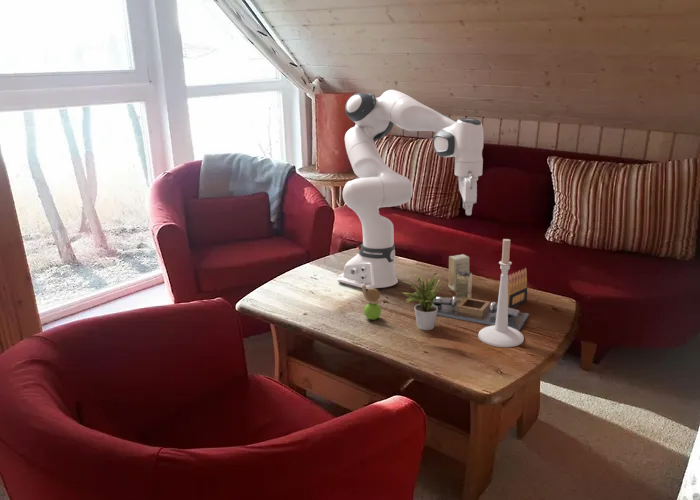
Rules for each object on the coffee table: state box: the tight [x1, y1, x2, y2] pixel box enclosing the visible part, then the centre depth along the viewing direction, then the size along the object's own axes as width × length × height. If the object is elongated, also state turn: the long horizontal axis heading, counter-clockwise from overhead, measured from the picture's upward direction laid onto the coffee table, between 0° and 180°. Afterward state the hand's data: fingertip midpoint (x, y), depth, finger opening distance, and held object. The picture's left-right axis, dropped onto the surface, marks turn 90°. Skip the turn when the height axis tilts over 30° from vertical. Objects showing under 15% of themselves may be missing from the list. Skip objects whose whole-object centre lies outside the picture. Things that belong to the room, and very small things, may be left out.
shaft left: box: [433, 295, 457, 309], centre depth 187 cm, size 9×4×4 cm, turn 73°
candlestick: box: [477, 238, 525, 348], centre depth 164 cm, size 13×13×30 cm
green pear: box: [361, 281, 382, 321], centre depth 181 cm, size 5×6×12 cm
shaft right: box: [489, 301, 521, 322], centre depth 179 cm, size 9×4×4 cm, turn 49°
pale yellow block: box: [455, 271, 473, 302], centre depth 196 cm, size 4×4×10 cm
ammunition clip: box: [508, 267, 528, 309], centre depth 190 cm, size 11×2×12 cm, turn 133°
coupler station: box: [436, 297, 529, 331], centre depth 185 cm, size 32×12×4 cm, turn 61°
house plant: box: [399, 273, 447, 331], centre depth 176 cm, size 14×14×16 cm
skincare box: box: [448, 253, 470, 292], centre depth 206 cm, size 6×4×12 cm
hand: (467, 211), depth 190 cm, fingers open, 8 cm apart
